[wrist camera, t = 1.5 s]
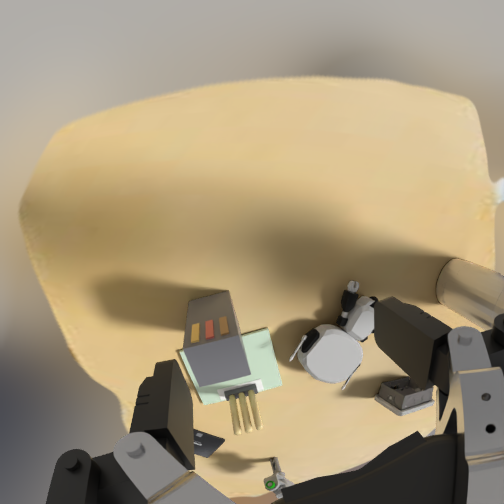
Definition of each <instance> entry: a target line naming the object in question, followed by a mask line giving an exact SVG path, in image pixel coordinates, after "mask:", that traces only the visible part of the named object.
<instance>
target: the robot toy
mask: <svg viewBox="0 0 504 504" xmlns="http://www.w3.org/2000/svg"><path fill="white" fill-rule="evenodd" d="M347 287H348V291H347V290H344V293H343V297H342V300H341V304H342V309H343V312H342V315H341V316H338V319H337V322H336V323H337V324H338V325H340V327H341V328H340V327H337V326H334V325H331V324H324V325H320V326H318V327H316V328H315V329H314V328H313V329H312V330H310V331H309V332H308V333H307V334H306V335H303V337H302V338H301V339H302V340H301V342H300V343H299V345H298V347H297V348H296V350H295V351H294V353H293V355H291V357H290V359H289V361H291V360H293V358H294V356H295V354H296V352H297V351H298V353H297V355H298V359H299V361H300V363H301V364H302V366H303V367H304V369H305V370H306V371H307V372H308V373H309V374H310V375H311V376H312V377H314V378H315V379H316V380H319V381H323V382H326V383H339V382H342V381H344V380H347V381H346V383H345V384H344V385H343V387H342V390H343V389H345V387H346V385H347V383H348V381H349V380H350V378H351V376H352V375H353V373H354V372H355V371H356V370H357V368H358V367H359V366H360V363H361V361H362V357H363V350H362V347H361V346H360V344H359V343H358V341H361V342H364V341H365V340H367V339H368V335H369V334H371V333H374V305H375V303H376V302H378V299H377V298H376V297H374V296H372V297H367V296H362V297H360V298H359V299H358V300H357V298H358V294H357V293H355V292H356V291H357V290H358V289H359V283H358V282H357V281H350V282H349V283H348V285H347ZM357 340H358V341H357ZM298 349H299V350H298ZM347 378H348V379H347Z"/></svg>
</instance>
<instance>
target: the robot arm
mask: <svg viewBox="0 0 504 504" xmlns="http://www.w3.org/2000/svg"><path fill="white" fill-rule="evenodd" d="M436 295H437V299H438V301H439V302H440V303H441V304H442V305H444V306H446V307H448V308H449V309H451V310H453V311H454V312H456V313H458V314H459V315H461V316H463V317H464V318H466V319H468V320H469V321H471V322H473V323H474V324H476V325H478V326H479V327H481V328H483V329H484V330H486V331H484V332H481V333H480V332H479V331H478V330H477V329H475V328H472V327H466V326H462V327H457V328H455V329H452V328H450V327H449V326H447V325H446V324H444V323H442V322H441V321H439V320H438V319H436V318H434V317H433V316H432V317H431V315H430V314H428V313H426V312H424V311H423V310H421V309H420V308H418V307H417V306H414V305H410V304H406V303H402V302H401V301H399V300H398V299H396V298H394V297H388V298H386V299H383V300H381V301H378V302H376V303H375V305H374V337H375V341H376V343H377V345H378V347H379V348H380V349H381V350H382V351H383V352H384V353H385V354H386V355H387V356H389V357H390V358H391V359H392V360H393V361H394V362H395V363H396V364H397V365H398V366H399V367H400V368H401V369H402V370H403V371H404V372H405V373H407V374H408V375H409V376H410V377H411V378H412V379H413V380H414V381H415V382H416V383H417V384H418V385H419V386H420V387H421V388H422V389H423V390H424V391H426V390H427V389H429V388H431V387H432V386H434V385H436V386H437V391H436V431H435V435H432V436H428V437H424V438H423V437H422V435H421V434H420V433H419V432H418V431H416V432H415V433H413V434H411V435H410V436H408V437H406V438H404V439H402V440H401V441H399V442H397V443H395V444H393V445H391V446H389V447H388V448H387V449H385V450H384V451H383V452H382V453H381V454H379V455H378V456H377V457H375V458H374V459H373V460H372V461H370V462H369V463H368V464H367V465H365V466H364V467H362V468H361V469H359V470H356V471H351V472H347V473H341V474H335V475H329V476H323V477H317V478H314V479H311V480H308V481H305V482H302V483H299V484H295V485H292V486H288V487H285V488H281V492H282V495H283V497H282V498H280V499H278V500H276V501H275V502H273V503H271V504H504V276H503V275H501V274H500V273H498V272H496V271H493V270H490V269H488V268H485V267H483V266H480V265H477V264H475V263H472V262H469V261H467V260H466V261H464V260H461V259H458V258H455V259H452V260H450V261H449V262H448V263H447V264H446V265H445V266H444V268H443V269H442V271H441V273H440V275H439V278H438V282H437V287H436ZM137 397H138V398H137V399H136V406H135V408H134V413H133V418H132V423H131V427H130V432H129V434H127V435H125V436H123V437H122V438H121V439H120V440H119V441H118V442H117V443H116V445H115V447H114V451H113V452H112V453H109V454H106V455H102V456H98V457H95V458H91V457H90V455H89V454H88V453H87V452H85V451H83V450H80V449H73V450H70V451H67V452H65V453H64V454H62V456H61V457H60V458H59V459H58V461H57V463H56V466H55V469H54V473H53V477H52V480H51V484H50V488H49V492H48V497H47V501H46V504H236V503H235V502H233V501H232V500H230V499H229V498H227V497H226V496H225V495H223V494H222V493H221V492H219V491H218V490H217V489H215V488H214V487H213V486H211V485H210V484H209V483H208V482H206V481H205V480H204V479H203V478H201V477H200V476H199V475H198V474H196V473H195V472H193V471H192V472H189V471H188V470H195V457H194V433H193V402H192V397H191V393H190V390H189V388H188V385H187V383H186V381H185V379H184V376H183V374H182V372H181V369H180V367H179V364H178V362H177V361H176V360H175V359H173V360H168V361H162V362H157V363H156V365H155V369H154V375H153V376H152V377H146V379H145V380H144V381H143V383H142V384H141V385H140V387H139V391H138V395H137Z"/></svg>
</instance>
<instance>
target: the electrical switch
mask: <svg viewBox="0 0 504 504" xmlns="http://www.w3.org/2000/svg"><path fill="white" fill-rule="evenodd" d="M409 378H410V379H409ZM390 383H391V384H390ZM398 384H399V385H398ZM395 385H396V388H397V389H394V386H395ZM391 387H392V388H391ZM433 388H434V387H431V388H429V389H427V390H426V391H424V390H422V388H421V387H420V386H419V385H418V384H417V383H416V382H415V381H414V380H413V379H412V378H411V377H406V378H402V379H398V380H393V381H389V382H384V383H381V388H380V391H379V394H376V395H375V400H376V401H377V402H378V403H380V404H381V405H383V406H384V407H386V408H387V409H389V410H390V411H392V412H393V413H395V414H396V415H398V416H403V415H406V414H409V413H412V412H415V411H418V410H421V409H424V408H426V407H429V406H432V405H433V404H434V400H433V399H432V392H433ZM393 389H394V390H393Z"/></svg>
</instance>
